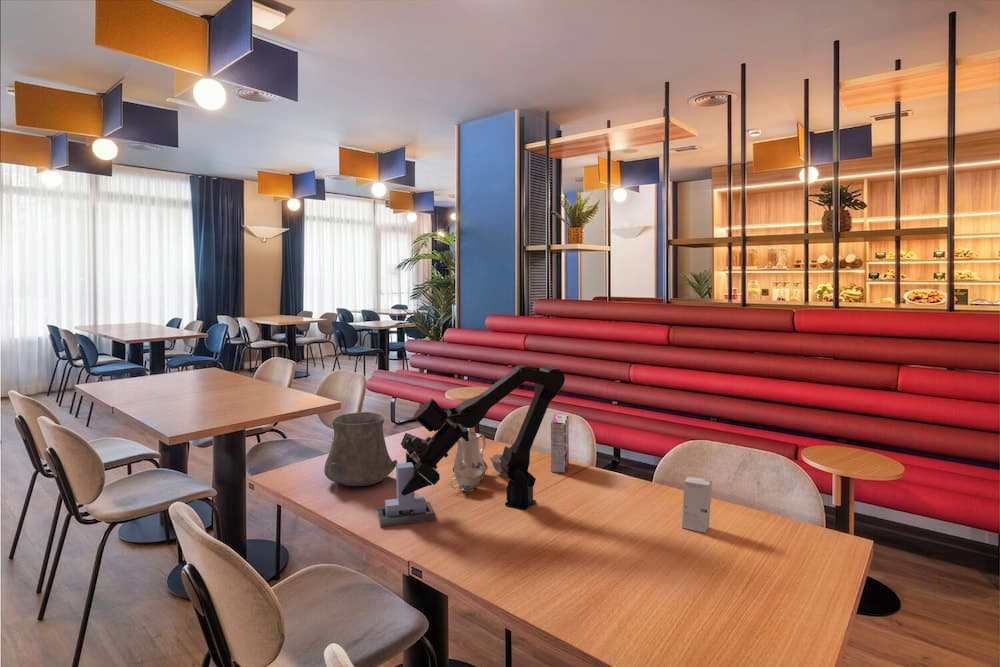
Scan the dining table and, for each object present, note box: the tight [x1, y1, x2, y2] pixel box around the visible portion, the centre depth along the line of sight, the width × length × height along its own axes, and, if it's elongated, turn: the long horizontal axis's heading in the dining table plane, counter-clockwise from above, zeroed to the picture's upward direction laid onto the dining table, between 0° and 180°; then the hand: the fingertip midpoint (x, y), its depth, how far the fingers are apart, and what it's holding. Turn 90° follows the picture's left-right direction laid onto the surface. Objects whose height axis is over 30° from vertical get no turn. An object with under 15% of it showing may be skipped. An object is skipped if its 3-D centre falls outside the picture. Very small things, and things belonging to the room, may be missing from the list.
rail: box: [376, 501, 436, 528], centre depth 154 cm, size 14×8×2 cm, turn 107°
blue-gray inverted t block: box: [384, 462, 427, 517], centre depth 153 cm, size 10×4×14 cm, turn 107°
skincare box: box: [681, 475, 713, 533], centre depth 147 cm, size 6×4×12 cm
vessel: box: [323, 411, 399, 487], centre depth 180 cm, size 22×22×20 cm
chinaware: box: [449, 428, 507, 492], centre depth 182 cm, size 28×17×17 cm, turn 148°
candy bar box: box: [550, 414, 570, 474], centre depth 193 cm, size 11×5×16 cm, turn 168°
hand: (399, 488), depth 153 cm, fingers open, 9 cm apart
